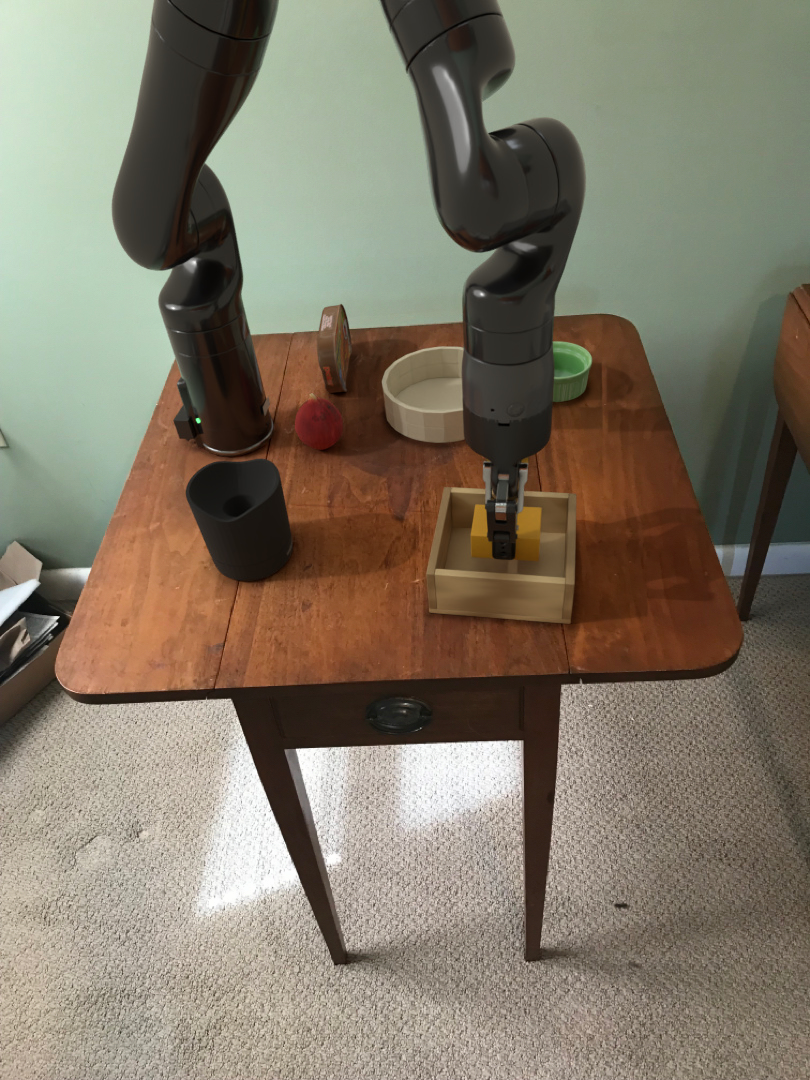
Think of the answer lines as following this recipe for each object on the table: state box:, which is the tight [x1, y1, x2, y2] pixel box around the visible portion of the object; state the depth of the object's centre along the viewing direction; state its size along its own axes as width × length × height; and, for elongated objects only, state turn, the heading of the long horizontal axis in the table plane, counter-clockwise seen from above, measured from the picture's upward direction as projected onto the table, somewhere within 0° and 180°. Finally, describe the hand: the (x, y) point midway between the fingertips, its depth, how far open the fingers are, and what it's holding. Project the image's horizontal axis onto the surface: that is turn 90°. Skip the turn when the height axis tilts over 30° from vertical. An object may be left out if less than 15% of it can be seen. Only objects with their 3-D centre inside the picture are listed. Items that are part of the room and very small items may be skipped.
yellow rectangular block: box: [471, 504, 542, 561], centre depth 75 cm, size 6×4×3 cm
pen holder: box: [185, 458, 294, 582], centre depth 80 cm, size 9×9×10 cm
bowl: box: [381, 345, 465, 444], centre depth 98 cm, size 15×15×5 cm
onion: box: [294, 392, 344, 451], centre depth 93 cm, size 6×6×8 cm
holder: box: [425, 486, 578, 625], centre depth 77 cm, size 14×13×6 cm
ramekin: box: [553, 341, 593, 403], centre depth 100 cm, size 9×9×4 cm
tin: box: [316, 303, 353, 394], centre depth 106 cm, size 15×3×8 cm, turn 179°
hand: (505, 538), depth 75 cm, fingers closed on yellow rectangular block, 4 cm apart
